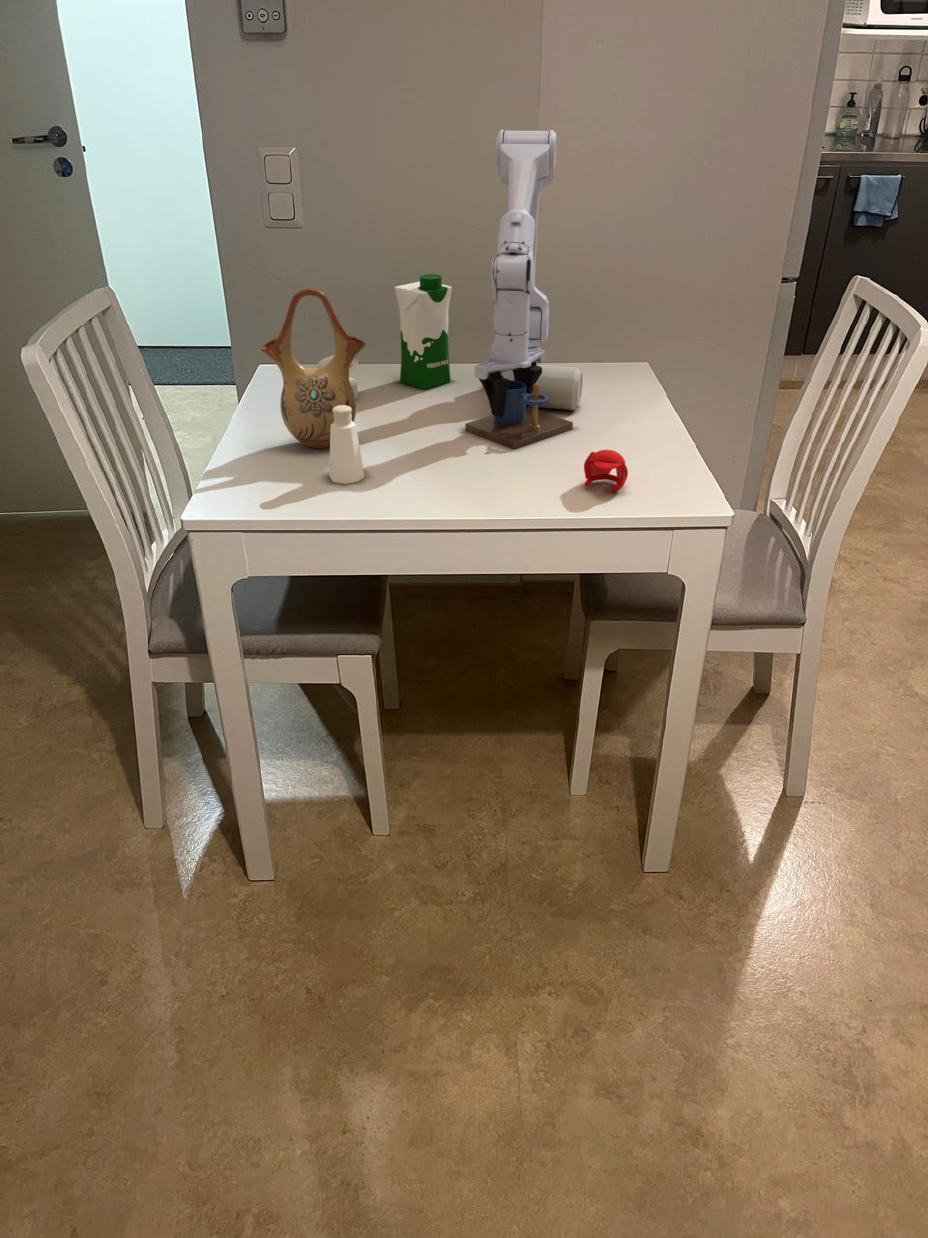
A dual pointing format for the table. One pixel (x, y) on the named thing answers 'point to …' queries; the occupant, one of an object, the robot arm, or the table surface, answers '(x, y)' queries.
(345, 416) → the pepper shaker
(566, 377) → the can
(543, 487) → the table surface
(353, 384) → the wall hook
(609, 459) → the red hollow rounded piece
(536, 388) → the peg stand
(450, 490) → the table surface
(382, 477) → the table surface
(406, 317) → the milk carton
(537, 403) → the cup
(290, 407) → the ceramic vessel
